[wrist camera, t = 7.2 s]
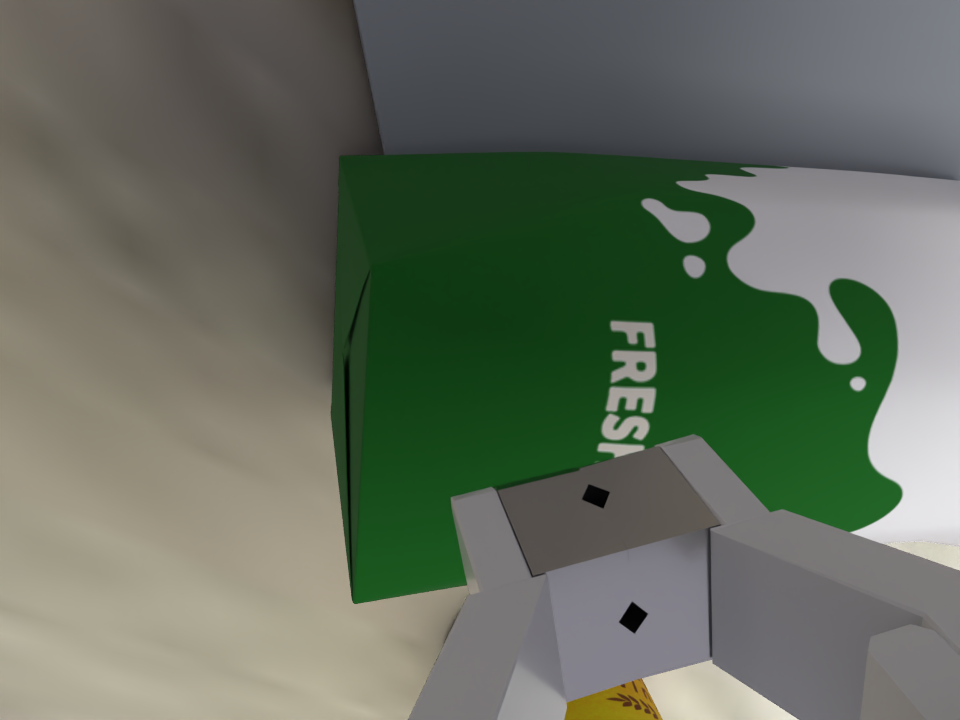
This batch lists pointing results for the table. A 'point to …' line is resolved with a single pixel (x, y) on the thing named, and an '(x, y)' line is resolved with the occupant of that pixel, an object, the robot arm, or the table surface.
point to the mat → (672, 80)
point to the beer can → (615, 704)
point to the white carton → (638, 339)
